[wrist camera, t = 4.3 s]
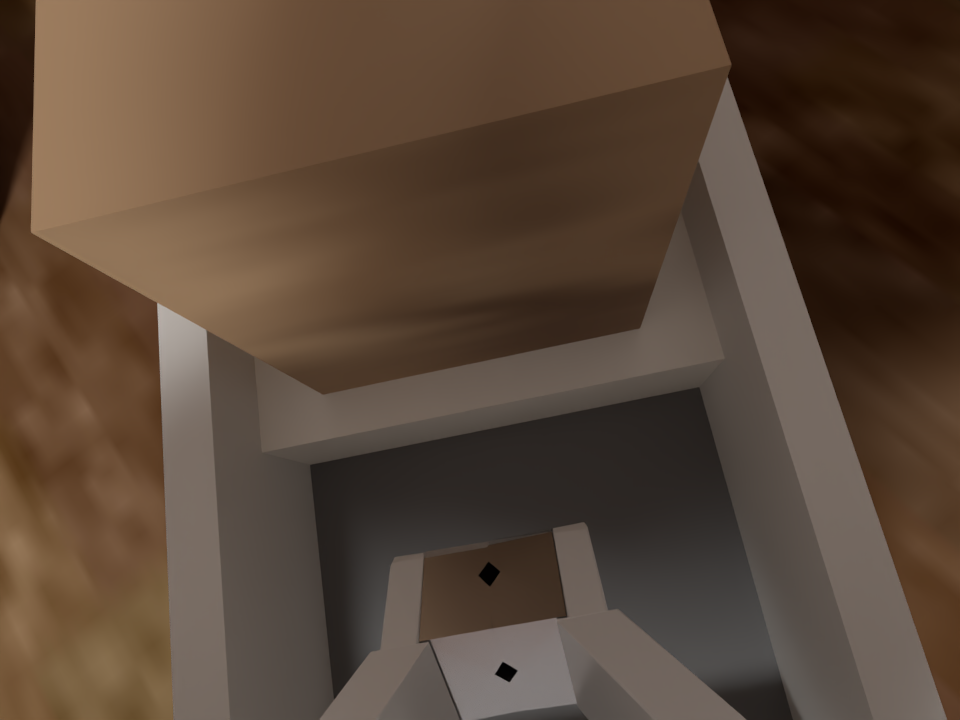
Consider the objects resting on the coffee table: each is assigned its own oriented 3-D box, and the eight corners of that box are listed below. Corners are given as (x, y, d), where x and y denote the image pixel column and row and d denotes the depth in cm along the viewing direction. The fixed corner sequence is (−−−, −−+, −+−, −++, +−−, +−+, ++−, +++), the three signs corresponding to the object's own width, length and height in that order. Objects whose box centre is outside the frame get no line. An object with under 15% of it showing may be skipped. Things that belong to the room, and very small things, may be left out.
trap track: (876, 846, 13) (1051, 1025, 8) (318, 923, 14) (189, 1124, 9) (515, -361, 24) (502, -584, 19) (212, -270, 25) (127, -460, 20)
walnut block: (569, 57, 16) (569, -406, 8) (639, 328, 14) (731, 64, 6) (293, 125, 16) (41, -244, 8) (323, 394, 14) (31, 232, 6)
